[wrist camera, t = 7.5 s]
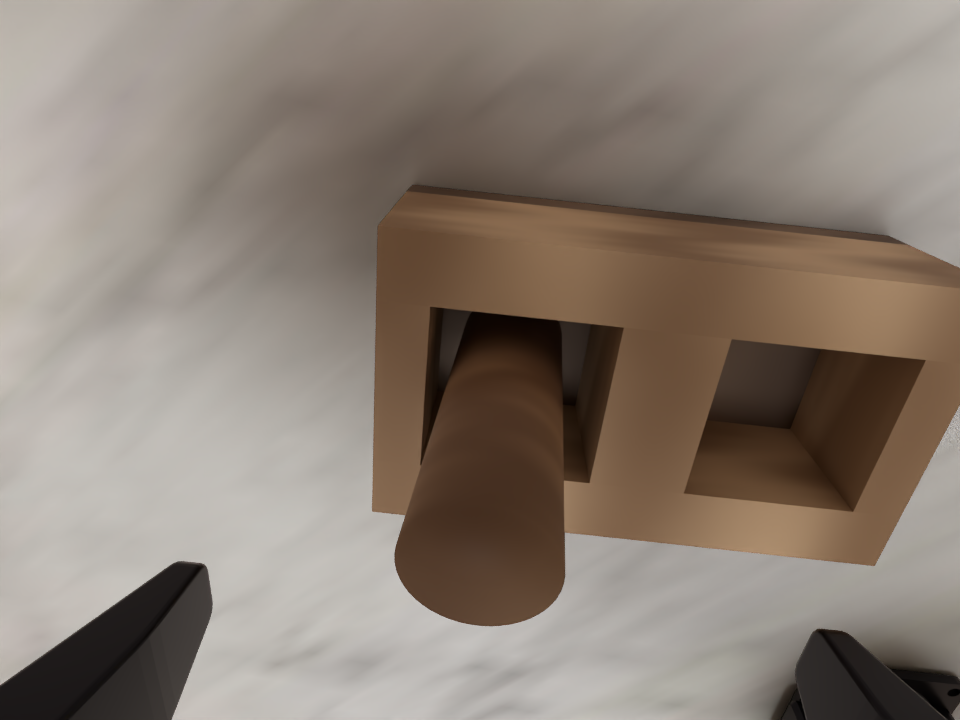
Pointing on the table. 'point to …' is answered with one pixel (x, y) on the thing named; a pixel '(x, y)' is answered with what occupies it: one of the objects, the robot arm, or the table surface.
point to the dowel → (492, 479)
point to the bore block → (683, 364)
